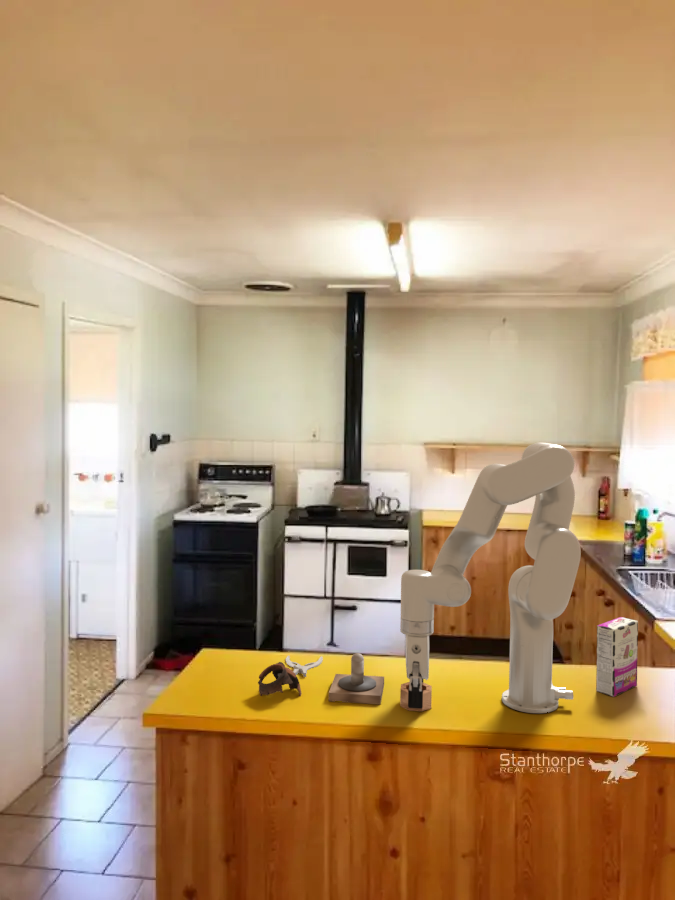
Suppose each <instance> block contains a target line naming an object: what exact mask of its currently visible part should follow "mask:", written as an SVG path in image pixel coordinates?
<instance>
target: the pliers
mask: <svg viewBox="0 0 675 900" xmlns="http://www.w3.org/2000/svg"><path fill="white" fill-rule="evenodd" d="M290 658H291V656H290V655H287V656H286V658H285V663H287V664H286V665H287V666H288V665H289V666H290V668H291V667H293V668H294V669H293V668H292V669H293V670H292V671H293V672H294V673H295V674H296V675H297V674H298V673H299V674H301V675H302V674H303V675H302V676H304V677H306V678H307V675H308V671H309V670H312V669H314V667H315V668H317V667H319V666H320V665H321V664H322V663H323V660H324V657H323V656H322V655H321V656H320V657H319V658H318V660H317V661H315V662H314V661H313V662H308V663H306V664H304V665H301V664H300V663H298V662H296V661H291V659H290ZM296 664H297V665H296ZM289 666H288V667H289ZM311 668H312V669H311ZM307 670H308V671H307ZM299 674H298V675H299ZM306 674H307V675H306ZM298 675H297V676H298ZM304 677H303V678H304Z"/></svg>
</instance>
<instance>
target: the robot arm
mask: <svg viewBox="0 0 675 900" xmlns="http://www.w3.org/2000/svg"><path fill="white" fill-rule="evenodd" d="M574 469H575V460H574V457H573V454H572V452H571V451H569V449H567V448H566V447H564V446H562V445H560V444H554V443H548V442H535V443H532V444H529V445H527V447H526V448H525V449H524V450H523V452H522V455H521V459H519V460H517V461H515V462H512V463H509V464H503V463H502V464H501V463H492V464H488V465H486V466H484V468H483V469H482V470H481V471H480V473H478V477H477V479H476V480H475V483H474V485H473V488H472V490H471V491H470V495H469V497H468V498H467V501H466V503H465V506H464V508H463V509H462V513H461V515H460V518H459V519H458V522H457V523H456V525H455V526H454V527H453V528H452V530H451V532H450V533H449V535H448V536H447V537H446V540H444V542H443V544H442V546H441V548H440V550H439V552H438V555H437V558H436V560H435V561H434V564H433V566H432V569H431V571H428V570H424V569H409V570H406V571H404V572H403V573H402V574H401V577H400V578H401V579H400V628H399V629H400V633H401V634H402V635H405V669H406V678H407V679H408V680H409V682H410V684H409V689H408V707H409V708H418V709H422V708H423V690H422V682H423V683H424V680H425V681H427V680H428V679H429V676H430V674H429V673H430V672H429V671H430V636H432V635H433V634H434V632H435V631H434V630H435V629H434V625H435V624H434V622H435V605H438V606H444V607H449V608H450V607H452V608H453V607H454V608H456V607H461V606H463V605H465V604H466V603H467V602H468V601H469V600H470V597H472V595H471V594H472V586H471V584H470V582H469V581H468V579H467V578H466V577H465V576H464V573H465V572H466V568H467V566H468V565H469V563H470V561H471V559H472V557H473V556H474V554H475V553H476V552H477V550H478V549H480V548H481V547H482V546H484V545H486V544H488V543H489V542H490V541H491V540H493V538H494V537H495V535H496V532H497V530H498V528H499V526H500V523H501V520H502V518H503V516H504V514H505V512H506V509H507V507H508V506H511V505H516V504H519V503H520V502H524V501H526V500H528V499H530V498H533V497H535V498H534V505H533V508H532V509H533V510H532V512H531V516H530V520H529V524H528V527H527V530H526V534H525V538H524V549H525V552H526V553H527V554H528V556H529V557H530V558H531V559H533V562H534V563H533V565H524V566H520V568H517V569H516V570H515V571H514V572H513V573H512V575H510V579H509V582H508V590H507V591H508V593H507V594H508V604H509V615H510V617H509V618H510V622H509V624H510V626H509V628H510V630H509V633H510V634H509V671H508V673H509V674H508V677H509V678H508V689H507V690H505V691H503V692H502V694H501V701H502V703H503V704H504V705H505V706H507V707H508V708H510V709H512V710H516V711H519V712H522V713H526V714H547V712H548V713H551V712H554V711H556V710H557V709H559V708H558V707H559V700H560V699H562V700H563V699H564V700H570V701H572V700H574V692H573V690H567V689H566V687H564V686H563V687H562V686H561V687H557V686H555V685H553V653H554V652H553V651H554V650H553V648H554V647H553V646H554V619H556V618H558V617H560V616H561V615H562V614H563V613H564V612H565V610H566V608H567V606H568V605H569V601H570V599H571V595H572V592H573V589H574V585H575V581H576V578H577V574H578V570H579V566H580V562H581V556H582V555H581V553H582V551H581V544H580V541H579V539H578V537H577V536H576V535H575V534H574V532H572V531H571V530H570V525H571V521H572V516H573V510H574V506H575V501H576V500H575V498H576V497H575V496H576V494H575V493H576V492H575V486H574V483H573V479H572V476H571V475H572V474H573V472H574ZM419 682H420V683H419ZM419 686H420V687H419Z"/></svg>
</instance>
